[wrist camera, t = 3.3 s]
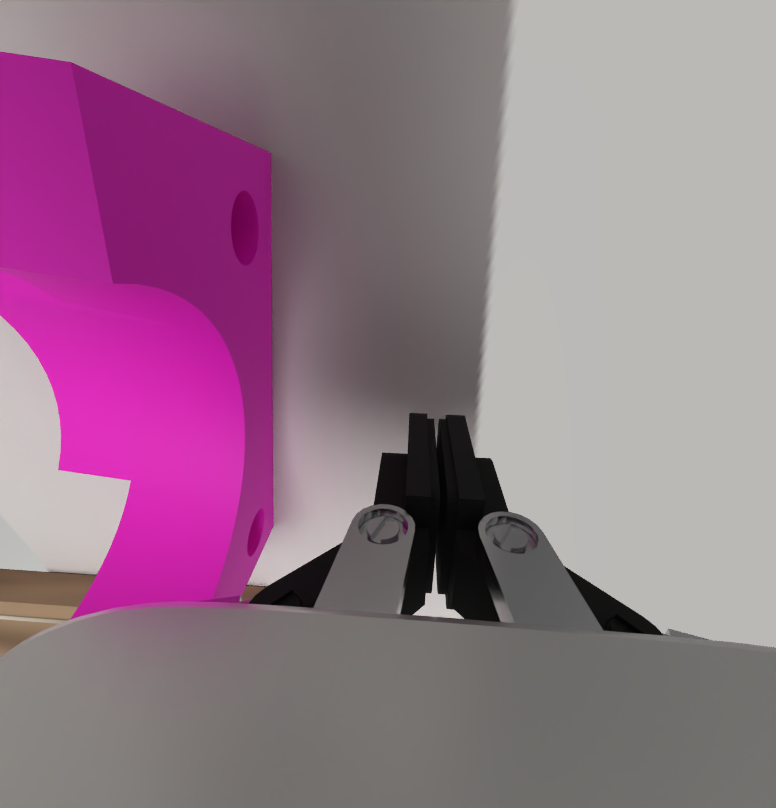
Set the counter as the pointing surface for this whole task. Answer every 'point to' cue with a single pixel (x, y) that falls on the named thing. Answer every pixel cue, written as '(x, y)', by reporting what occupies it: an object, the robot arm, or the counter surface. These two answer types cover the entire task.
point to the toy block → (145, 319)
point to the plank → (45, 602)
